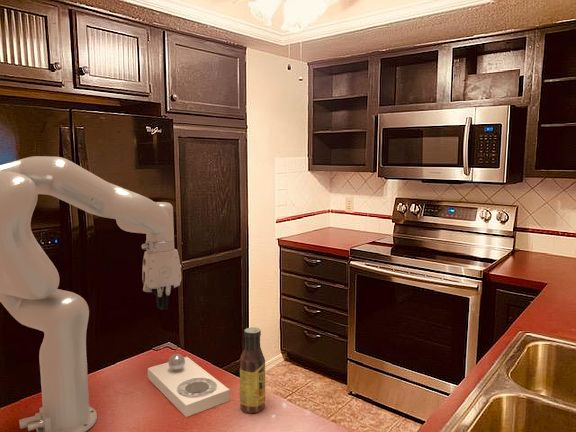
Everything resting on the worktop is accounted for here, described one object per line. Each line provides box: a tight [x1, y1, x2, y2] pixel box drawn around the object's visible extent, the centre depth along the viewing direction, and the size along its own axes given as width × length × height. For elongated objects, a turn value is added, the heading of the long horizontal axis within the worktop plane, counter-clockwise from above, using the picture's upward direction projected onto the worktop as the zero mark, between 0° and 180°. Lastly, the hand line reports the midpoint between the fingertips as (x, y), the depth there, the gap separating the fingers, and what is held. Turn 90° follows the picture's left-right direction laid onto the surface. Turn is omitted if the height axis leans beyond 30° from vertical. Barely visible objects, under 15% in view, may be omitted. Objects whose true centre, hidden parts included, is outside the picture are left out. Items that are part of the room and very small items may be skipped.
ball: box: [167, 353, 185, 371], centre depth 125 cm, size 4×4×4 cm
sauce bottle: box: [239, 327, 266, 414], centre depth 112 cm, size 6×6×20 cm
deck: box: [146, 356, 231, 418], centre depth 121 cm, size 12×24×3 cm, turn 38°
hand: (162, 308), depth 131 cm, fingers closed
